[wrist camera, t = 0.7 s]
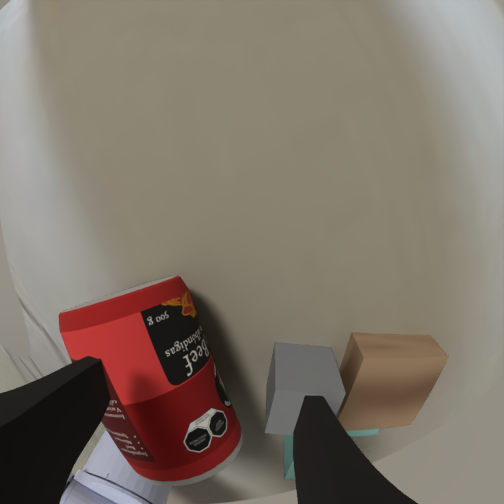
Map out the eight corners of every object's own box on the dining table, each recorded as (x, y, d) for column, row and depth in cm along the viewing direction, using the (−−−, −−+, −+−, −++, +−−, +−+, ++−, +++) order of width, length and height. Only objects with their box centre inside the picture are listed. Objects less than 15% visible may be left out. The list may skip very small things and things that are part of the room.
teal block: (325, 436, 21) (332, 478, 16) (283, 435, 21) (284, 478, 16) (338, 409, 20) (349, 453, 15) (292, 408, 20) (295, 455, 15)
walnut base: (398, 398, 20) (410, 424, 16) (326, 400, 20) (332, 431, 16) (428, 333, 18) (448, 356, 14) (350, 330, 18) (363, 358, 15)
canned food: (185, 271, 19) (234, 406, 19) (83, 302, 17) (140, 430, 17) (181, 277, 11) (257, 468, 11) (29, 323, 9) (126, 494, 10)
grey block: (317, 387, 19) (326, 435, 14) (266, 384, 19) (264, 433, 15) (331, 346, 18) (345, 393, 13) (275, 341, 18) (275, 390, 14)
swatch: (375, 431, 20) (376, 434, 20) (337, 434, 21) (338, 437, 20) (391, 404, 19) (392, 407, 19) (351, 406, 20) (352, 409, 19)
